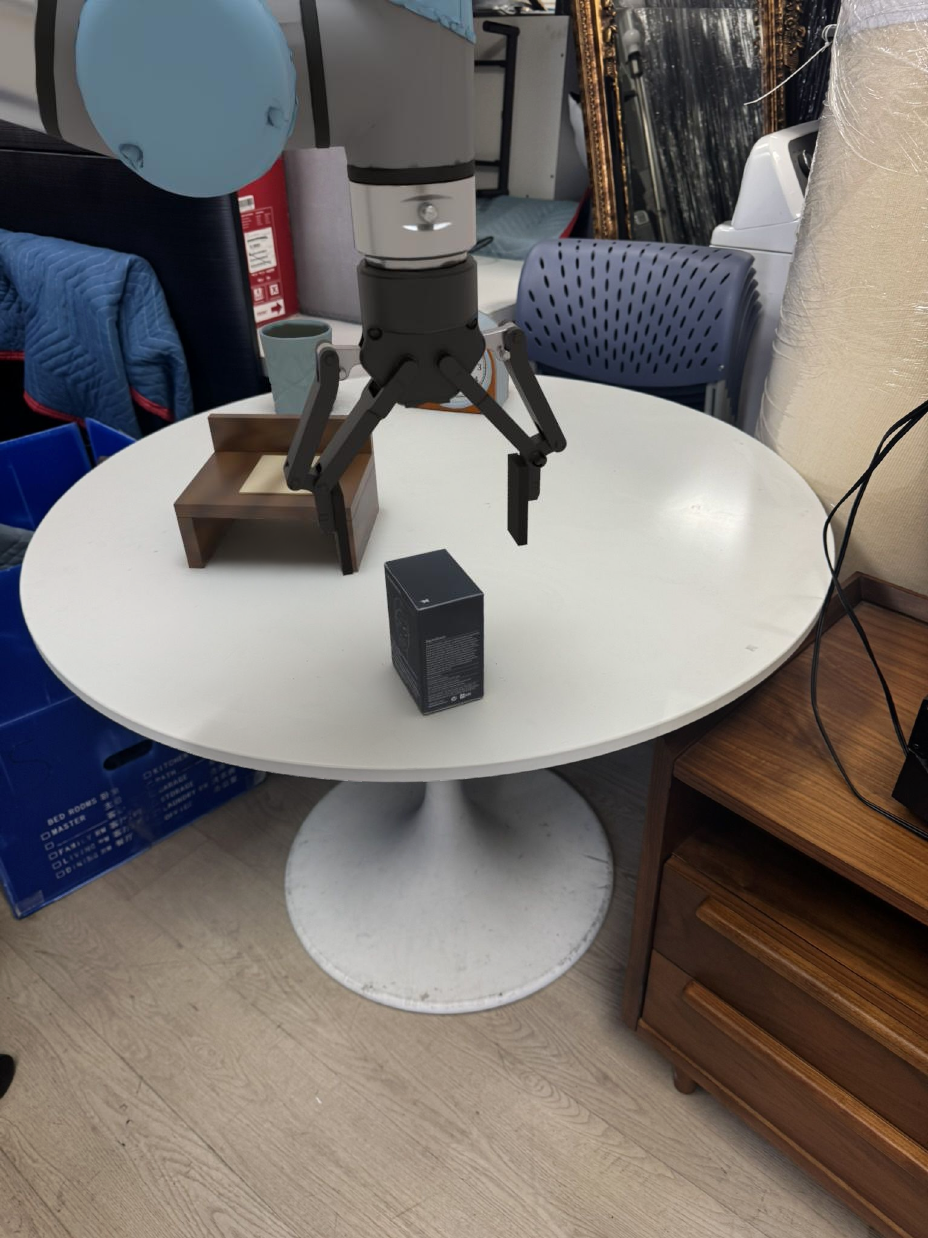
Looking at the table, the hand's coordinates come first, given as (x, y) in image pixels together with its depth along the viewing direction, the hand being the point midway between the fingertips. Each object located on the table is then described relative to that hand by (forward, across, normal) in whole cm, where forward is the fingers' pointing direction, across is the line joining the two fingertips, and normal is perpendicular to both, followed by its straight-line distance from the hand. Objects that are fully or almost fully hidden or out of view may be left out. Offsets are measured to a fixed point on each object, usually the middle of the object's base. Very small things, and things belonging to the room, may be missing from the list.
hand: (433, 551), depth 63 cm
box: (+13, 0, 0) cm, 13 cm away
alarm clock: (+13, +18, +63) cm, 67 cm away
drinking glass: (+13, -4, +67) cm, 69 cm away
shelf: (+13, -10, +29) cm, 33 cm away
